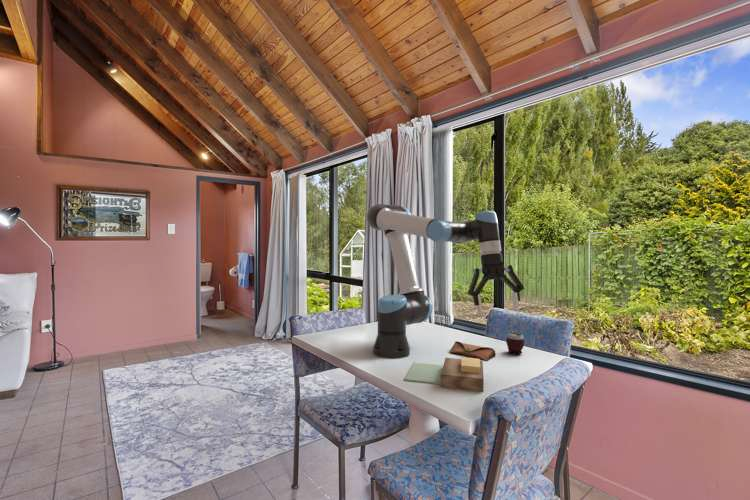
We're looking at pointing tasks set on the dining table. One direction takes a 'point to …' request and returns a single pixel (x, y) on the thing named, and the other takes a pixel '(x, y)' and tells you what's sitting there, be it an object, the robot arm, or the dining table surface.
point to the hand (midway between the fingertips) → (498, 312)
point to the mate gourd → (515, 341)
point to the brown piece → (460, 376)
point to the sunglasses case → (472, 351)
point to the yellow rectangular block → (470, 365)
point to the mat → (425, 373)
